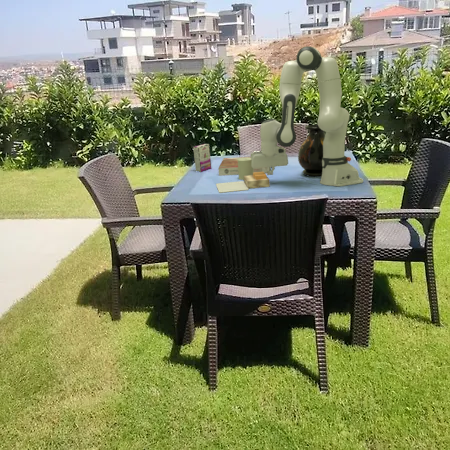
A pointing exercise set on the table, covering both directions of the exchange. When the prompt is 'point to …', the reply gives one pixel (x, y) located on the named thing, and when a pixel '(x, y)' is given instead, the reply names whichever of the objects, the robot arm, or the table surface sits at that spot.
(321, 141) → the amphora vase
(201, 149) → the candy bar box
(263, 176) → the orange tile
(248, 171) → the can
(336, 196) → the table surface
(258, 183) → the cylinder
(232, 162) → the pizza box
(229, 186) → the cream board
